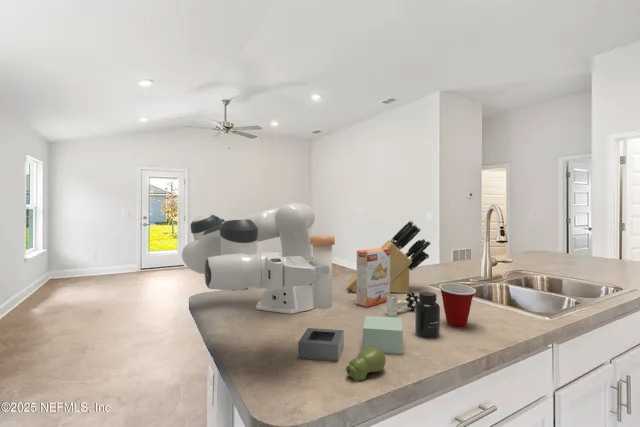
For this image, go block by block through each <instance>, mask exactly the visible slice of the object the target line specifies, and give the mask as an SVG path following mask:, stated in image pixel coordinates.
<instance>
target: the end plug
mask: <svg viewBox="0 0 640 427" xmlns="http://www.w3.org/2000/svg"><path fill="white" fill-rule="evenodd" d="M335 239H336V238H335V236H334V235H311V236H309V242H310V245H311V246H312V261H313V266H316V267H318V266H328V267H329V268H330V272H329V273H328V274H321V275H318V276H316V282H315V283H313V284H312V285H313V307H315V308H314V309H318V310H319V309H321V310H324V309H331V308H332V307H333V246H334V245H335V244H336V243H335Z"/></svg>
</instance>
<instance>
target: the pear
mask: <svg viewBox="0 0 640 427" xmlns="http://www.w3.org/2000/svg"><path fill="white" fill-rule="evenodd" d="M386 361H387V359H386V355H385V353H383V352H382V350H381V349H379V348H377V347H369V348H366V349H364V350H363V349H362V350H361V351H360V352H359V353H358V354H357V356H356V357H355V358H353V359H351V360H350V361H349V362H348V365H347V366H346V367H345V371H346V373H347V376H349V377H350V378H351V377H352V378H353V379H352V378H351V379H352V380H354V379H355V380H356V382H360V381H359V380H361V381H363V380H365V379H366V377H367V374H369V373H378V372H381V371H382V370H383V369H384V368H385V366H386ZM355 380H354V381H355ZM357 380H358V381H357Z"/></svg>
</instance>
